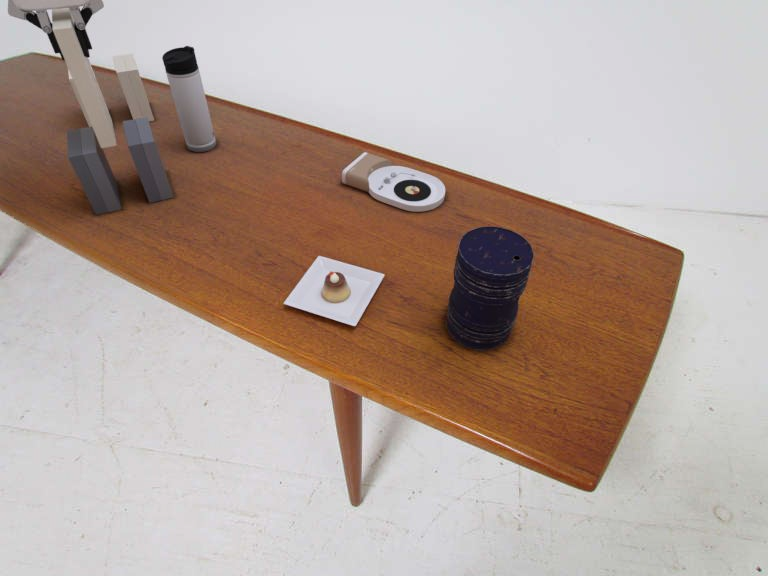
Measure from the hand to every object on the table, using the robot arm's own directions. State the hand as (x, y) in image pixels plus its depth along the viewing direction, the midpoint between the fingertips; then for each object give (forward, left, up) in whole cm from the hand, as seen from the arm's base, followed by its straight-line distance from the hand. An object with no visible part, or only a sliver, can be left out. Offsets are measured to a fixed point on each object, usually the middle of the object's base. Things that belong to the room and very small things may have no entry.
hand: (75, 54), depth 79 cm
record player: (+48, -20, -26) cm, 58 cm away
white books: (+1, +34, -26) cm, 43 cm away
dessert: (+26, -42, -26) cm, 56 cm away
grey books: (0, 0, -26) cm, 26 cm away
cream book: (0, 0, -14) cm, 14 cm away
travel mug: (+16, +13, -26) cm, 33 cm away
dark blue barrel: (+43, -57, -26) cm, 76 cm away
